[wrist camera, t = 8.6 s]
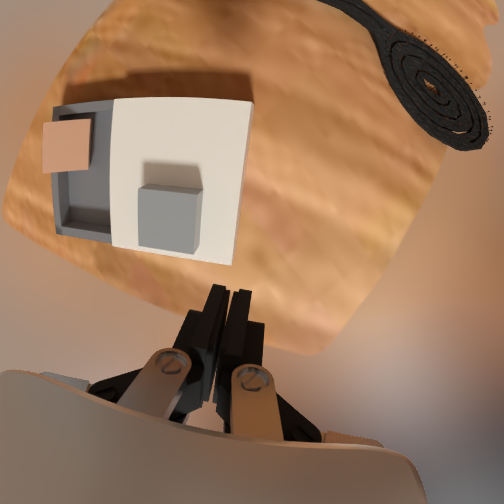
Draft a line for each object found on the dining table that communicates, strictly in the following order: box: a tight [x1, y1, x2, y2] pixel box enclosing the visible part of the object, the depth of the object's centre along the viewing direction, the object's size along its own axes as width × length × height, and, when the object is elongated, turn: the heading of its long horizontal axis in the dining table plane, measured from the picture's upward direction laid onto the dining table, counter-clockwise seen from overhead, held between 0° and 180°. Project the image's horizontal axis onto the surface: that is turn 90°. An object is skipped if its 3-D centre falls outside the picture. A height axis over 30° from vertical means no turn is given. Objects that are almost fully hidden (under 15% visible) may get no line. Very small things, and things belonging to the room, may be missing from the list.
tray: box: [51, 100, 114, 243], centre depth 24 cm, size 14×8×2 cm, turn 173°
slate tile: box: [138, 184, 203, 255], centre depth 23 cm, size 5×5×2 cm
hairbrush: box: [318, 0, 493, 151], centre depth 17 cm, size 8×4×25 cm
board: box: [110, 97, 254, 265], centre depth 24 cm, size 14×12×3 cm
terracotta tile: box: [42, 119, 93, 173], centre depth 22 cm, size 5×5×2 cm
